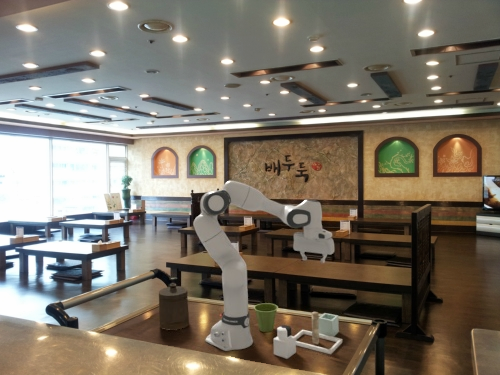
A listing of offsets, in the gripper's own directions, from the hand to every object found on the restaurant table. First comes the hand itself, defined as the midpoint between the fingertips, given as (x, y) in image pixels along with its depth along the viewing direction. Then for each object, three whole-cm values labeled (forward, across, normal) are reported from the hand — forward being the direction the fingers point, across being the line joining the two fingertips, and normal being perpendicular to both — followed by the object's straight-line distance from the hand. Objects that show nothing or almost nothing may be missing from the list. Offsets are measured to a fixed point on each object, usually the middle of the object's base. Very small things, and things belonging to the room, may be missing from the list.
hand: (313, 261), depth 199 cm
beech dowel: (+33, +7, -14) cm, 37 cm away
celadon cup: (+34, +8, -2) cm, 35 cm away
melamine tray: (+34, +7, -14) cm, 38 cm away
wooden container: (+34, -65, -30) cm, 80 cm away
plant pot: (+34, -21, -11) cm, 42 cm away
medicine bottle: (+34, -1, -28) cm, 44 cm away
